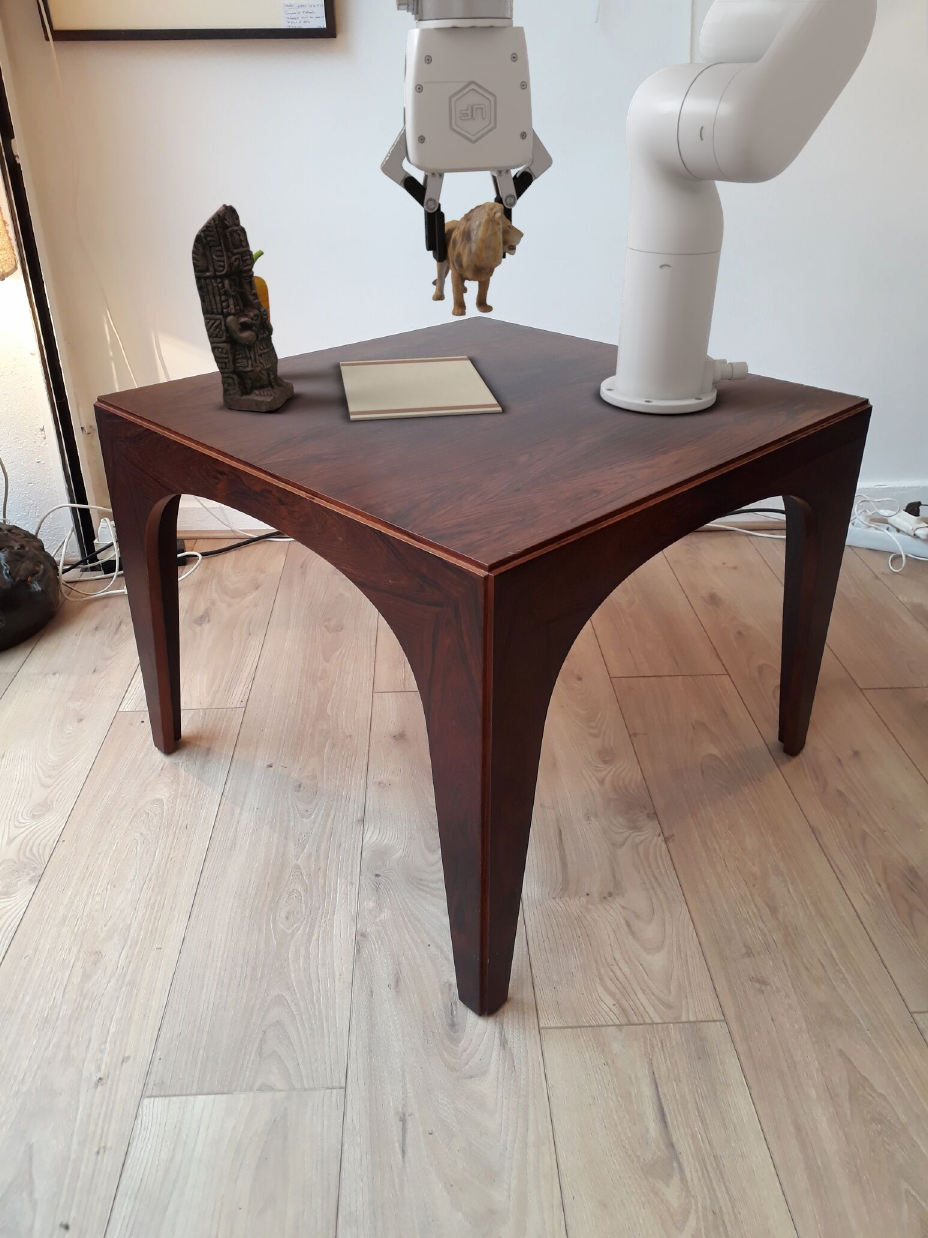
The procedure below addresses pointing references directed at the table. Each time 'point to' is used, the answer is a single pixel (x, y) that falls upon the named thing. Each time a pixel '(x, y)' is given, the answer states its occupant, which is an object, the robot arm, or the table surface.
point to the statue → (236, 315)
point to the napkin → (415, 388)
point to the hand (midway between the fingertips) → (468, 255)
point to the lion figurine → (475, 253)
